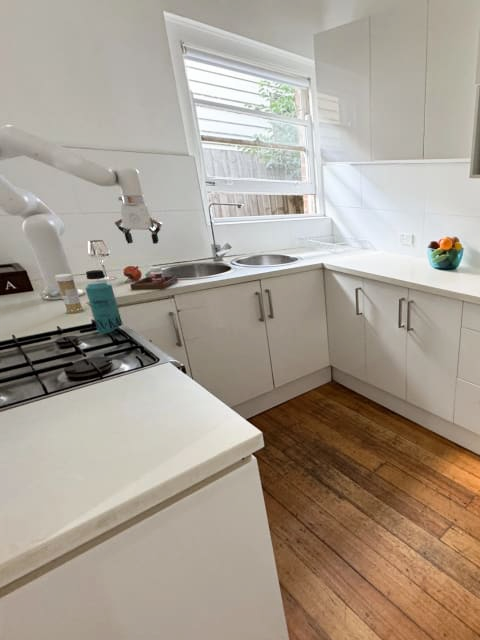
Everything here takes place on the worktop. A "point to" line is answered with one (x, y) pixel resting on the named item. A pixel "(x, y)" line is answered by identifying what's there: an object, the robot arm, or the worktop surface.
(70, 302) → the sprinkles bottle
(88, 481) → the worktop surface
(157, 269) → the pill bottle
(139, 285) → the tray
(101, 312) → the beverage bottle
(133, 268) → the pomegranate
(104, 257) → the wineglass
